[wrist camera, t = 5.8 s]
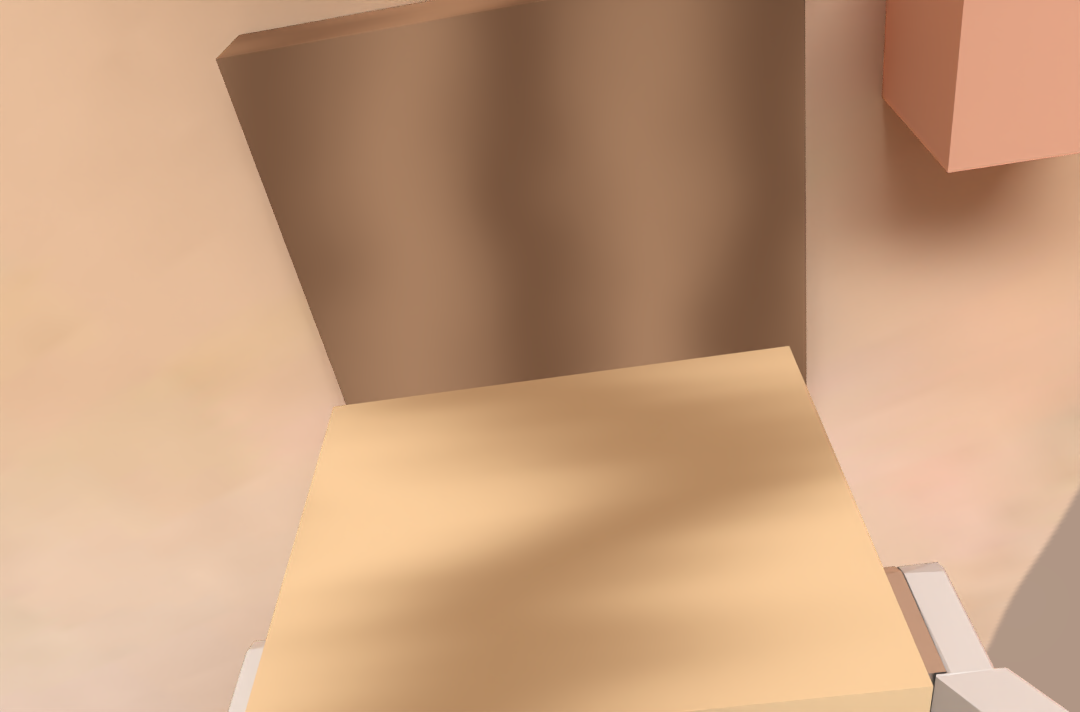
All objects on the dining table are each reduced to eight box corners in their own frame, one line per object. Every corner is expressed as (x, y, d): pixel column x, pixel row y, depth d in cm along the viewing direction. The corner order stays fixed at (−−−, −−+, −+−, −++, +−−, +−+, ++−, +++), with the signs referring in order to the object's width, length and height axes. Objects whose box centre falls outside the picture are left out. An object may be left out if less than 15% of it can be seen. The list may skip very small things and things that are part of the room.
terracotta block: (1110, -147, 21) (1245, -114, 17) (1075, 64, 24) (1183, 137, 20) (890, -107, 22) (969, -65, 18) (880, 96, 24) (947, 172, 20)
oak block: (789, 345, 12) (933, 685, 7) (789, 644, 15) (889, 991, 11) (333, 406, 12) (232, 757, 8) (433, 681, 15) (398, 1027, 11)
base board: (785, -65, 22) (804, -47, 20) (792, 387, 30) (806, 426, 28) (239, 35, 23) (215, 59, 22) (383, 440, 31) (374, 480, 30)
